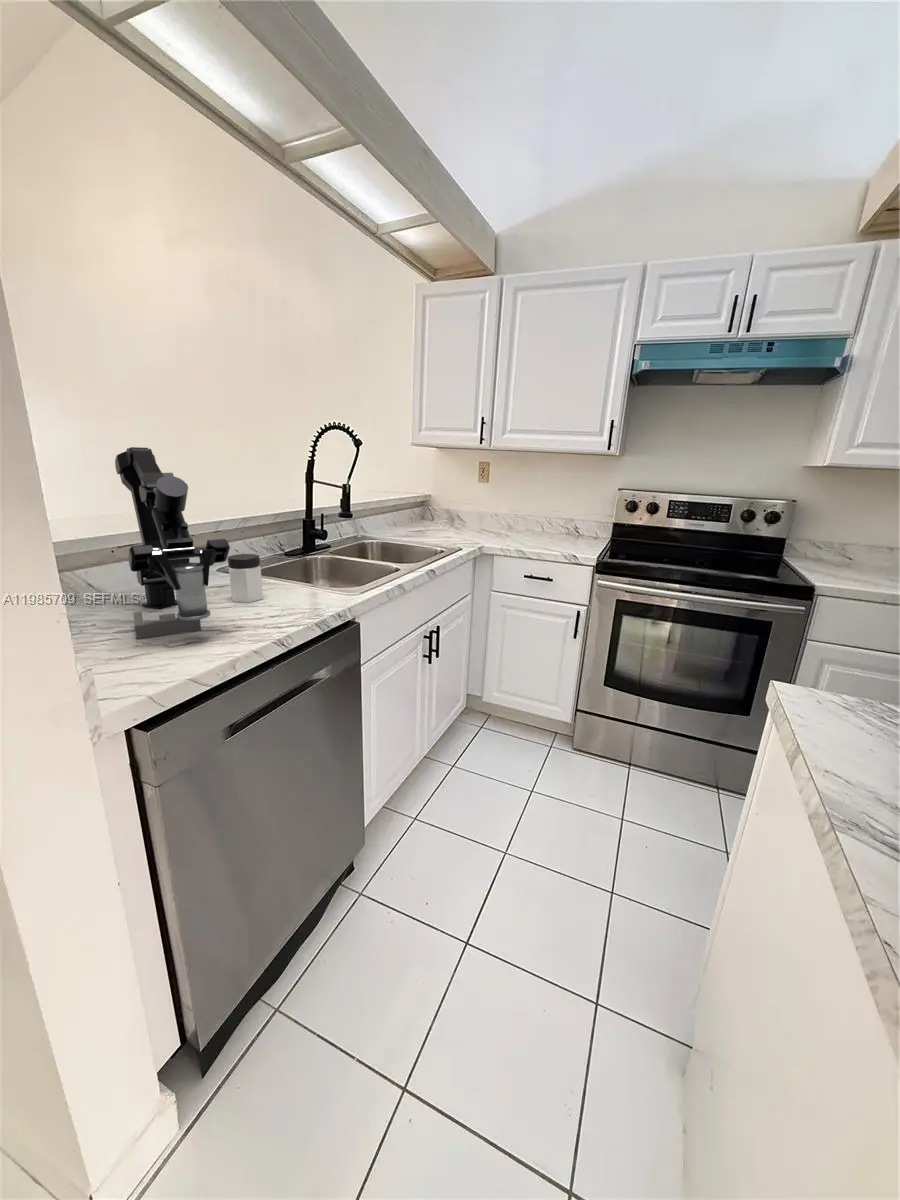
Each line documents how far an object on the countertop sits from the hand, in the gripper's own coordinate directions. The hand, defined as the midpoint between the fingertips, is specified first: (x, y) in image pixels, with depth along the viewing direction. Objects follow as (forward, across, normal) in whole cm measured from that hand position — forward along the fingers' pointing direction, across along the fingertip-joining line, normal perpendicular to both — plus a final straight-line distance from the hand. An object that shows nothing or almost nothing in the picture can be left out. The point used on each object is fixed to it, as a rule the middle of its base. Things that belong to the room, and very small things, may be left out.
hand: (192, 587), depth 103 cm
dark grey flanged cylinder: (+4, 0, -6) cm, 7 cm away
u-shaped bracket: (-2, +3, -19) cm, 19 cm away
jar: (-11, -20, -28) cm, 36 cm away
